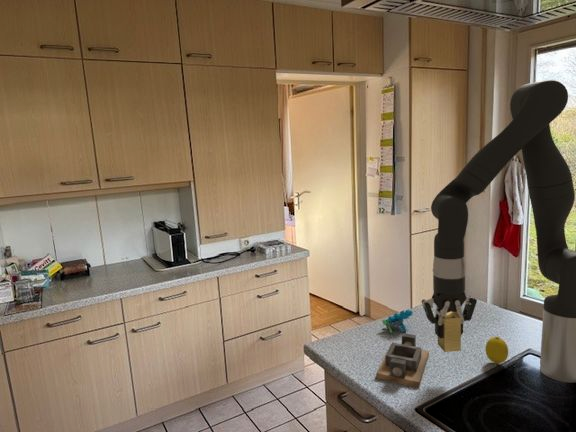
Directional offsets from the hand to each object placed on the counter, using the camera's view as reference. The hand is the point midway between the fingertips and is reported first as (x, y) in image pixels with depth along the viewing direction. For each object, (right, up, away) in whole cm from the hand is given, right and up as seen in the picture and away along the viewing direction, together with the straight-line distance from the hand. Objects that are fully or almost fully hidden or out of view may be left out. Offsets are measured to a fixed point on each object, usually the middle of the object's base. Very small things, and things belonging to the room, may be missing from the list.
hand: (449, 336), depth 104 cm
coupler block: (0, -3, +1) cm, 3 cm away
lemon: (+16, -10, +7) cm, 20 cm away
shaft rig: (-10, -11, +8) cm, 16 cm away
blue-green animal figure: (-5, -7, +31) cm, 33 cm away
